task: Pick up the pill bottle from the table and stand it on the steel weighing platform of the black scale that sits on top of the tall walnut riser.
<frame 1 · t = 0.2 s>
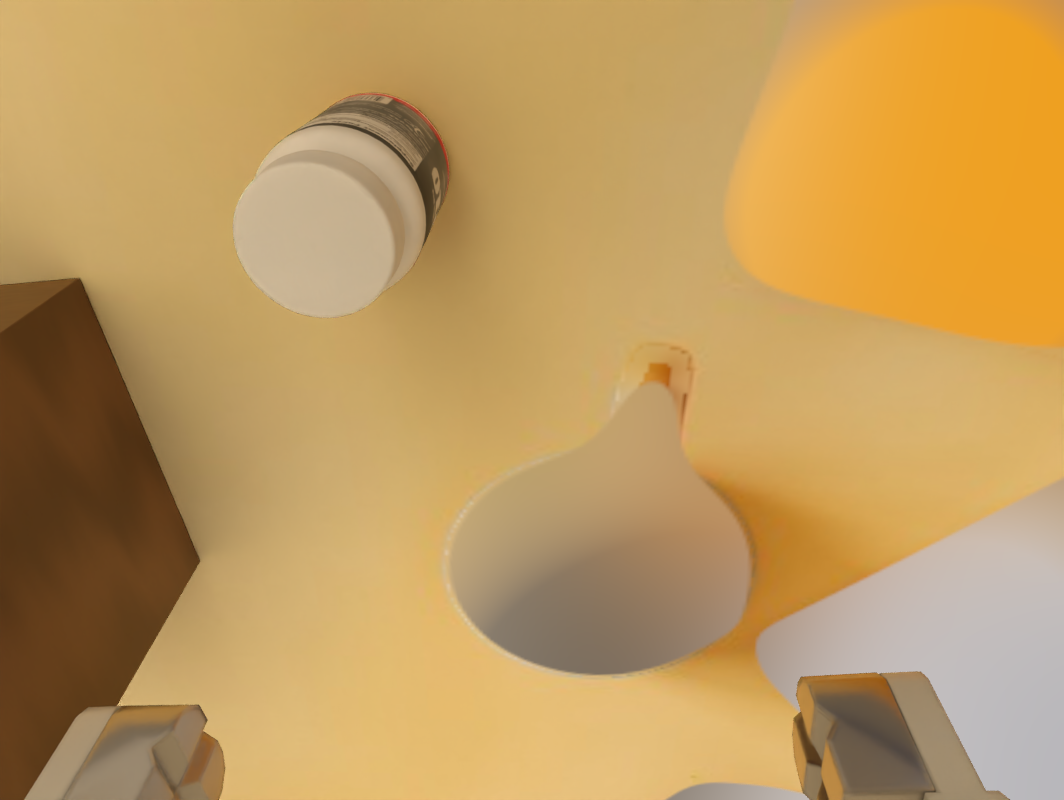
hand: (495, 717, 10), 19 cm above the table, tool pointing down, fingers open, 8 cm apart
pill bottle: (382, 163, 26), on the table
riser: (10, 445, 32), on the table
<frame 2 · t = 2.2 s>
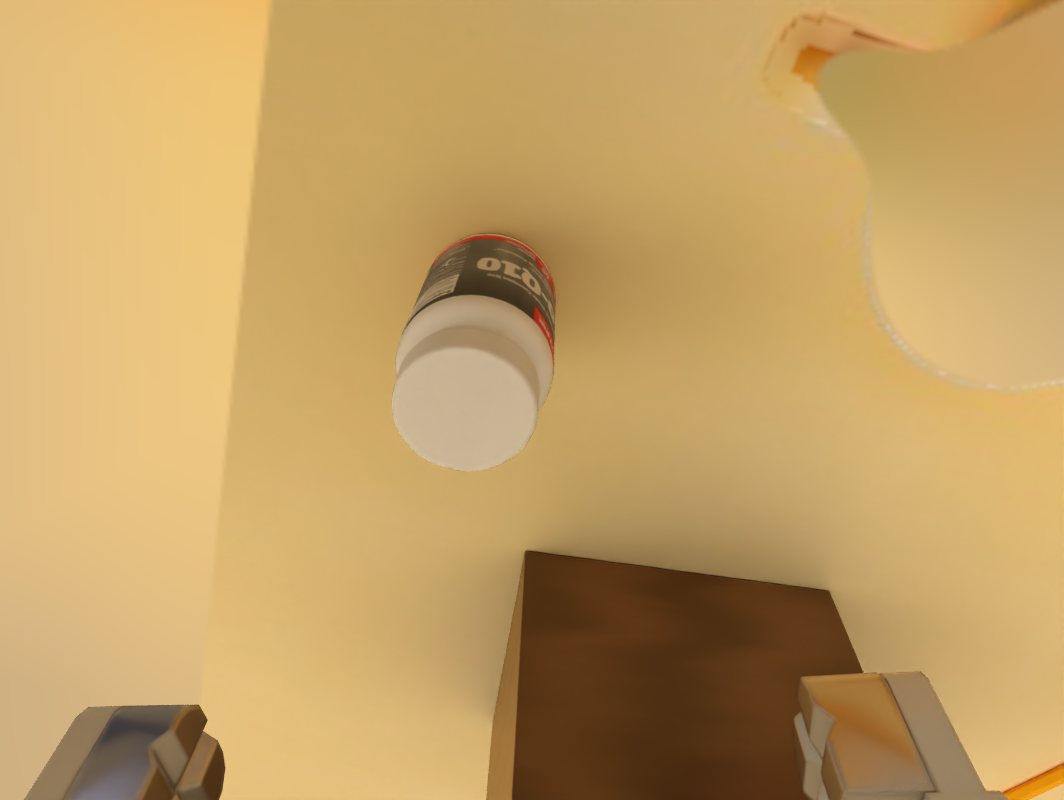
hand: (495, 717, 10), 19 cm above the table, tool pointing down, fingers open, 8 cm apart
pill bottle: (490, 290, 28), on the table
riser: (649, 660, 38), on the table
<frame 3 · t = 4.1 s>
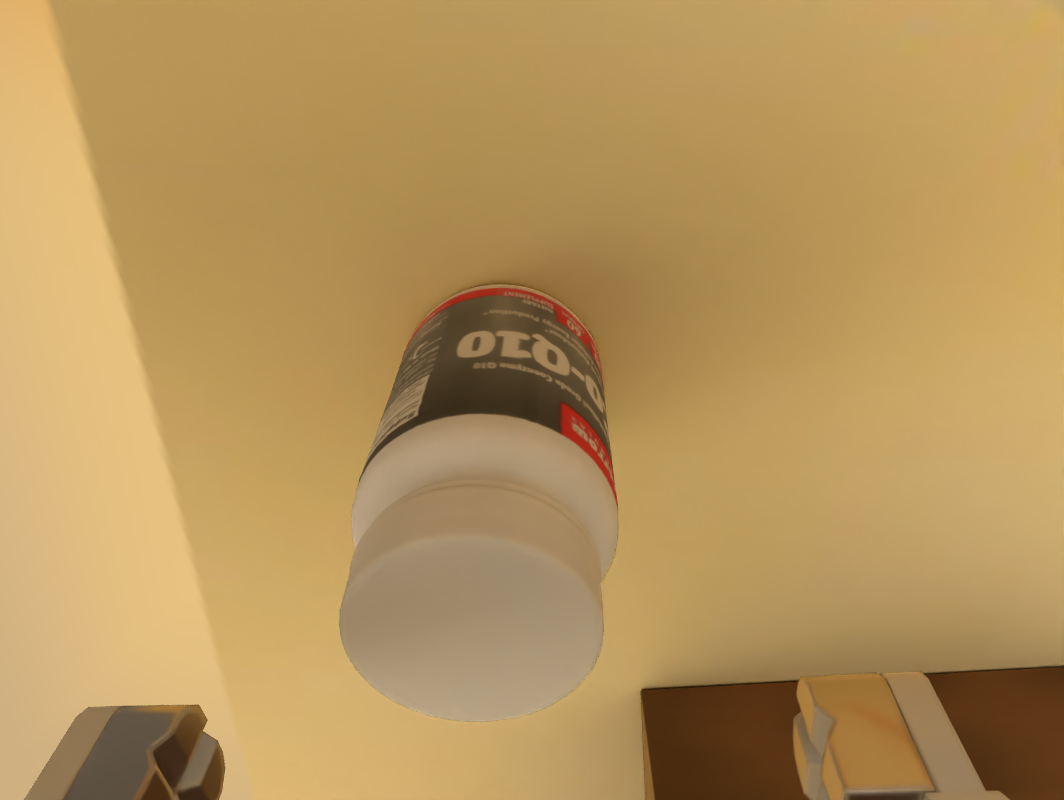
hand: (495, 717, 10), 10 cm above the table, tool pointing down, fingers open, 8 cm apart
pill bottle: (502, 365, 19), on the table
riser: (843, 790, 27), on the table
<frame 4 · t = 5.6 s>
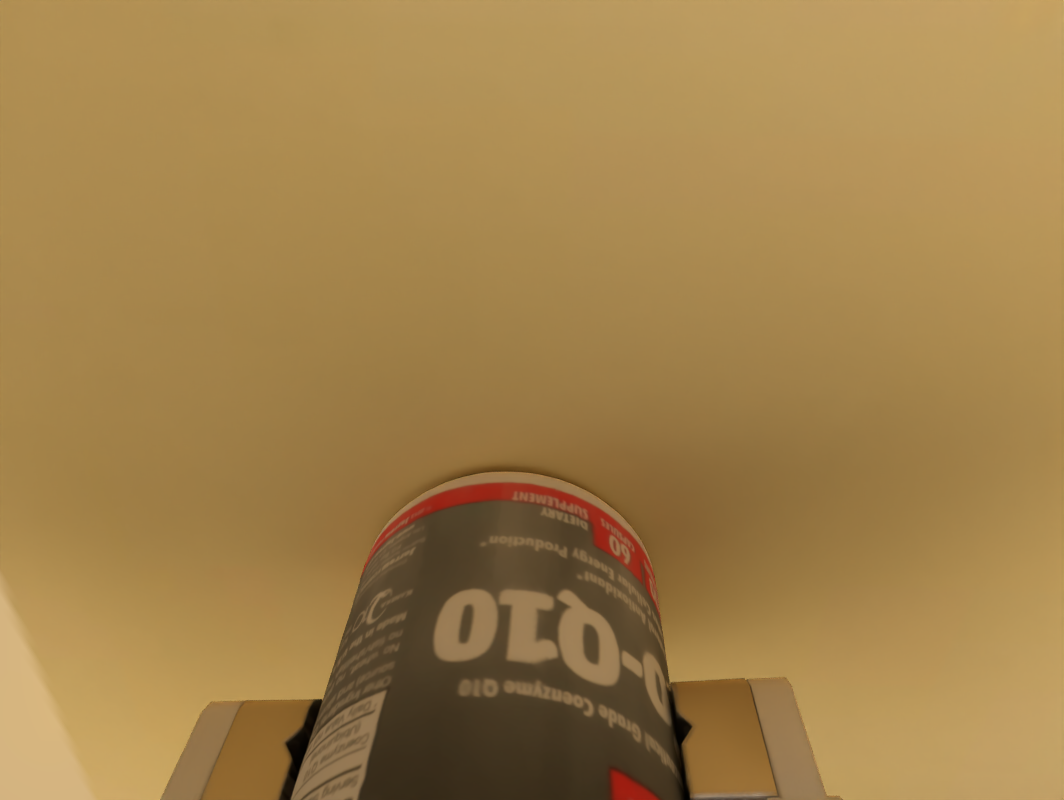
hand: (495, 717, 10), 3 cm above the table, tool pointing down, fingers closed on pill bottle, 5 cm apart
pill bottle: (510, 568, 13), on the table, touching gripper
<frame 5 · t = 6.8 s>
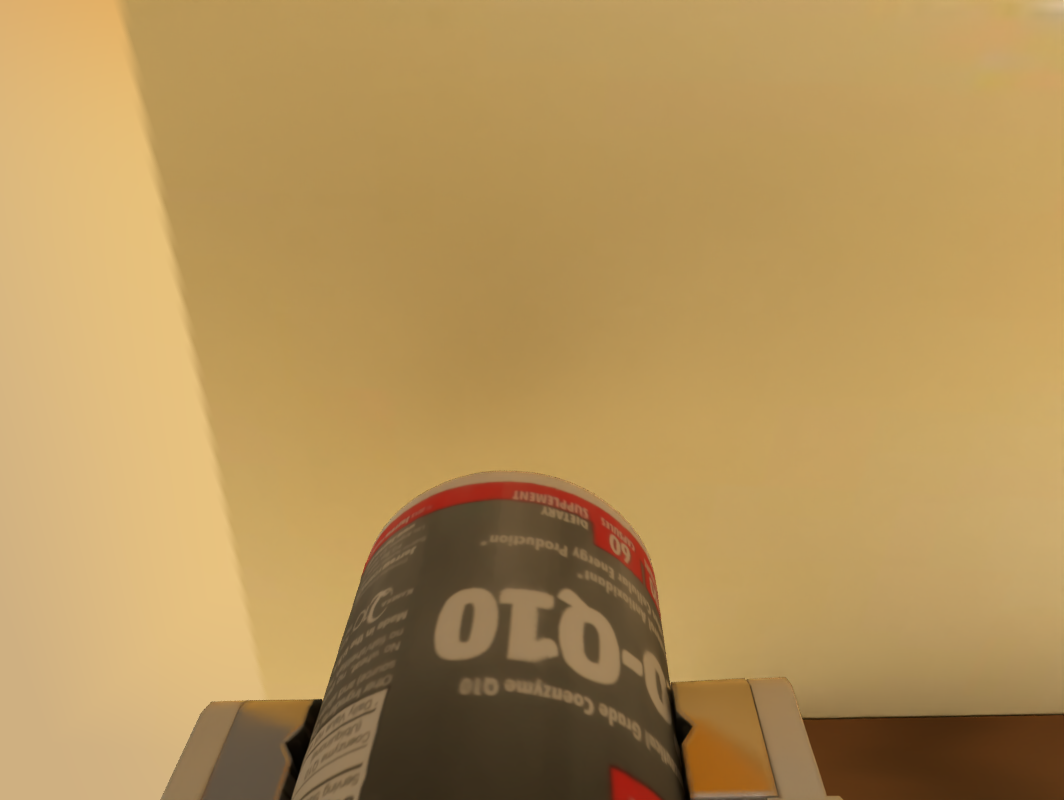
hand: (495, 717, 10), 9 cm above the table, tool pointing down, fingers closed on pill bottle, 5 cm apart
pill bottle: (510, 567, 13), point 6 cm above the table, touching gripper
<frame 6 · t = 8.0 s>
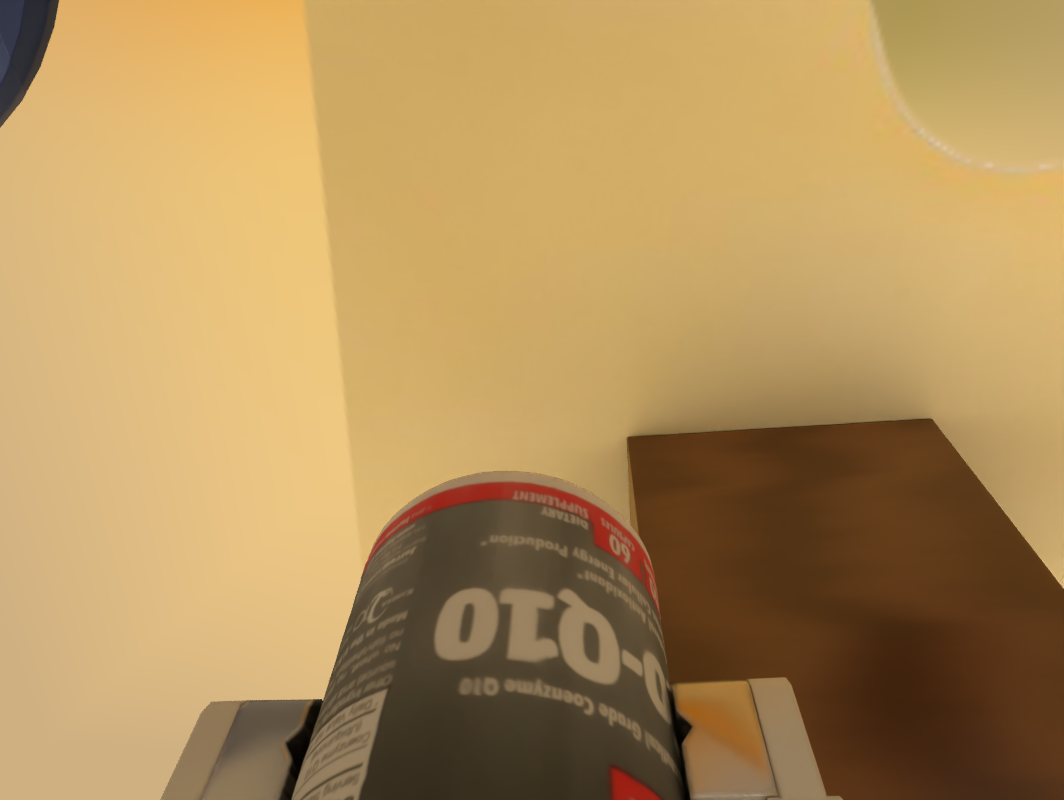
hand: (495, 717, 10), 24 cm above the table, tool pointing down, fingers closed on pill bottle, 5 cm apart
pill bottle: (510, 567, 13), point 21 cm above the table, touching gripper
riser: (769, 527, 39), on the table
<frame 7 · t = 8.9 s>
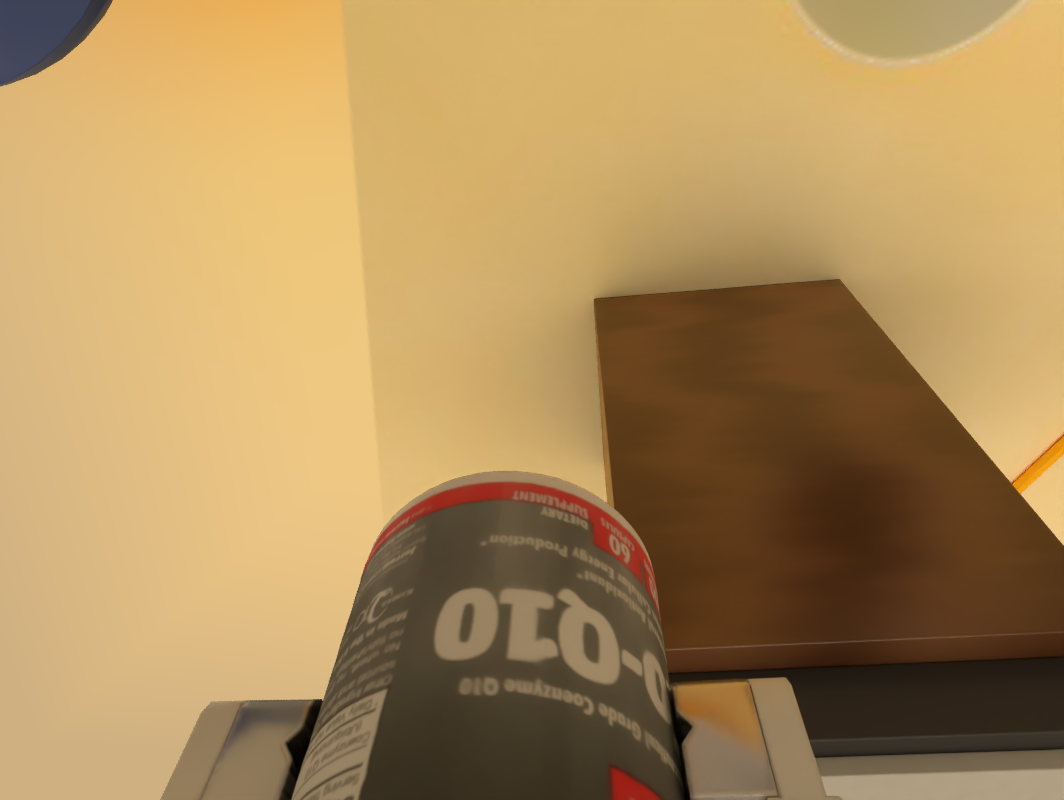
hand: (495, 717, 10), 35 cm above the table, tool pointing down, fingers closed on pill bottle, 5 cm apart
pill bottle: (510, 567, 13), point 32 cm above the table, touching gripper
riser: (713, 379, 47), on the table
scale: (851, 769, 25), resting on riser
when the fingers open (32 cm above the table, at t = 12.7 s): pill bottle stays where it is, resting on scale.
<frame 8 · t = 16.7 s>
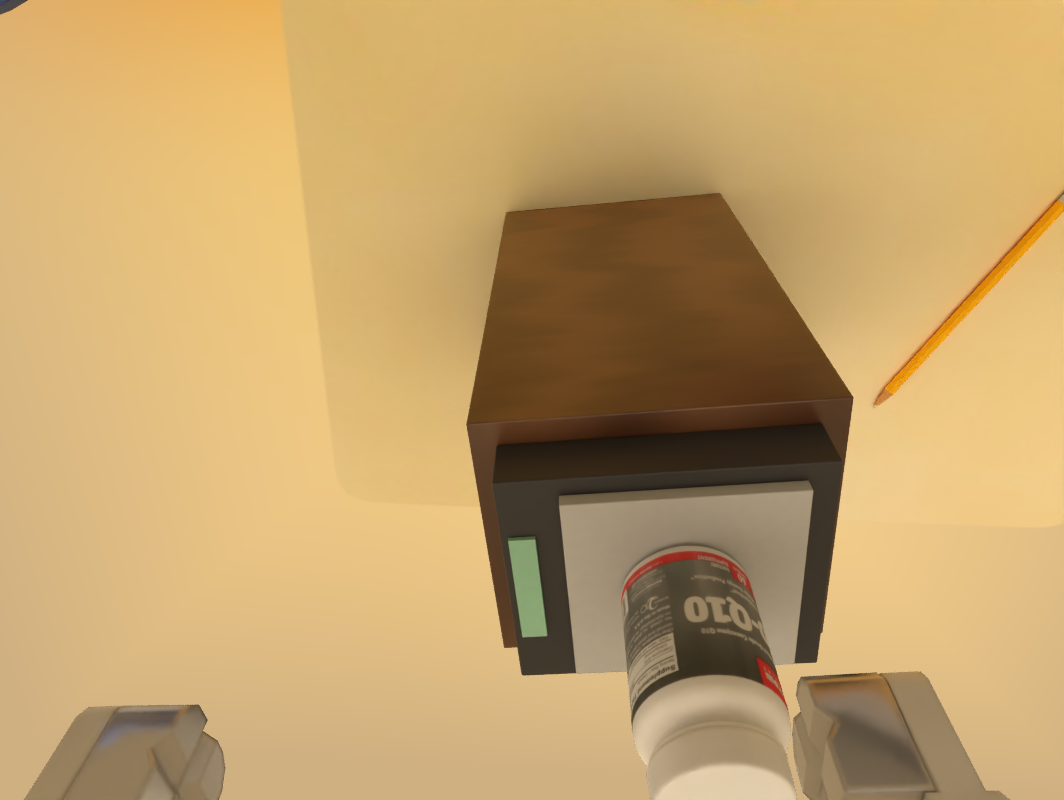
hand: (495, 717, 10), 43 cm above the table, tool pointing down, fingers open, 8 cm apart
pencil: (964, 302, 53), on the table
pill bottle: (683, 586, 28), point 29 cm above the table, touching scale
riser: (616, 288, 53), on the table
scale: (658, 537, 31), resting on riser
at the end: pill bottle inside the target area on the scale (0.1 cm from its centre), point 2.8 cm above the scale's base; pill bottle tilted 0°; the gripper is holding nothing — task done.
